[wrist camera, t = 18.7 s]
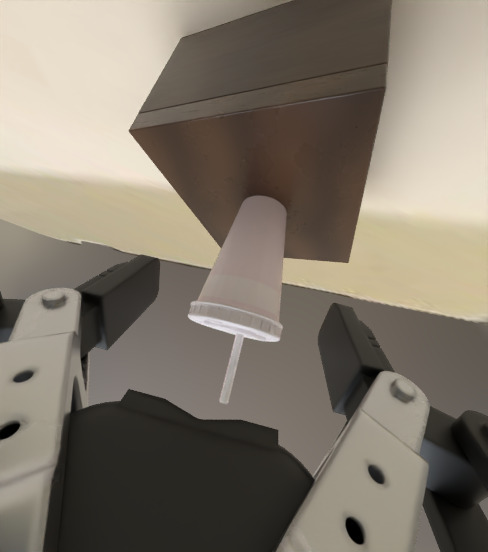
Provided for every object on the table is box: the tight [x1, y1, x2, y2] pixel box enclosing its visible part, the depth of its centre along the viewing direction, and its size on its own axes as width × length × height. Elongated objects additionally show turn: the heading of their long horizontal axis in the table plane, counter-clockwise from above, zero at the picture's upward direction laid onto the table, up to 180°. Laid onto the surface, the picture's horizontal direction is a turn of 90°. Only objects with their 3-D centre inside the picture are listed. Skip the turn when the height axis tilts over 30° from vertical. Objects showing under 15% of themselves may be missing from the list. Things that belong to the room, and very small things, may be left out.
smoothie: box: [188, 196, 287, 404], centre depth 16 cm, size 6×6×14 cm
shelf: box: [129, 0, 392, 263], centre depth 20 cm, size 14×16×10 cm
